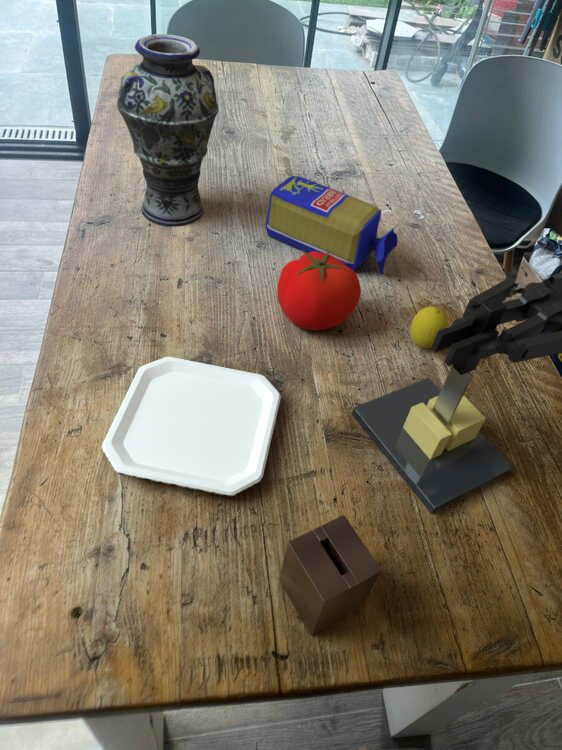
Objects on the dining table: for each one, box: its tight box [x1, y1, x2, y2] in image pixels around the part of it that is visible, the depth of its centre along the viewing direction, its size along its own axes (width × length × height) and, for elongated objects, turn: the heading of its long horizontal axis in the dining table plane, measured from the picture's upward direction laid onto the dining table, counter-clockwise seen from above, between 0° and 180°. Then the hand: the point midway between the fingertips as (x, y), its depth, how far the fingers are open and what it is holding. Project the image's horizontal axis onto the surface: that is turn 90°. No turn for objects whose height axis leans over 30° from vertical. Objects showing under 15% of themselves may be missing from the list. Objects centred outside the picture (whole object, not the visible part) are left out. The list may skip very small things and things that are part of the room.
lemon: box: [409, 306, 448, 349], centre depth 92 cm, size 6×6×8 cm
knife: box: [432, 298, 507, 426], centre depth 70 cm, size 3×2×20 cm
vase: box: [116, 33, 219, 227], centre depth 104 cm, size 17×17×30 cm
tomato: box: [276, 249, 362, 331], centre depth 93 cm, size 12×13×12 cm
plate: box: [101, 356, 282, 497], centre depth 78 cm, size 21×21×2 cm
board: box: [351, 377, 514, 515], centre depth 81 cm, size 18×14×2 cm
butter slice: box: [403, 402, 452, 459], centre depth 78 cm, size 6×2×4 cm, turn 30°
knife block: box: [278, 514, 383, 637], centre depth 62 cm, size 7×7×9 cm
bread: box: [264, 175, 400, 275], centre depth 108 cm, size 10×25×10 cm, turn 59°
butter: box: [427, 394, 487, 451], centre depth 80 cm, size 6×5×4 cm
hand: (443, 348), depth 64 cm, fingers closed on knife, 2 cm apart
